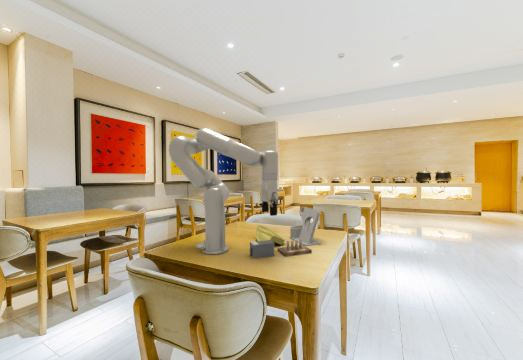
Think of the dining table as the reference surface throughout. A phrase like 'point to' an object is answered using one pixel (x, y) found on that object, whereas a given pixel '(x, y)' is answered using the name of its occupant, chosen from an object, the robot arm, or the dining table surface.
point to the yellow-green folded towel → (268, 235)
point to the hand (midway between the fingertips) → (269, 213)
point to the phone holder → (306, 227)
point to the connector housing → (261, 249)
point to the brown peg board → (294, 249)
